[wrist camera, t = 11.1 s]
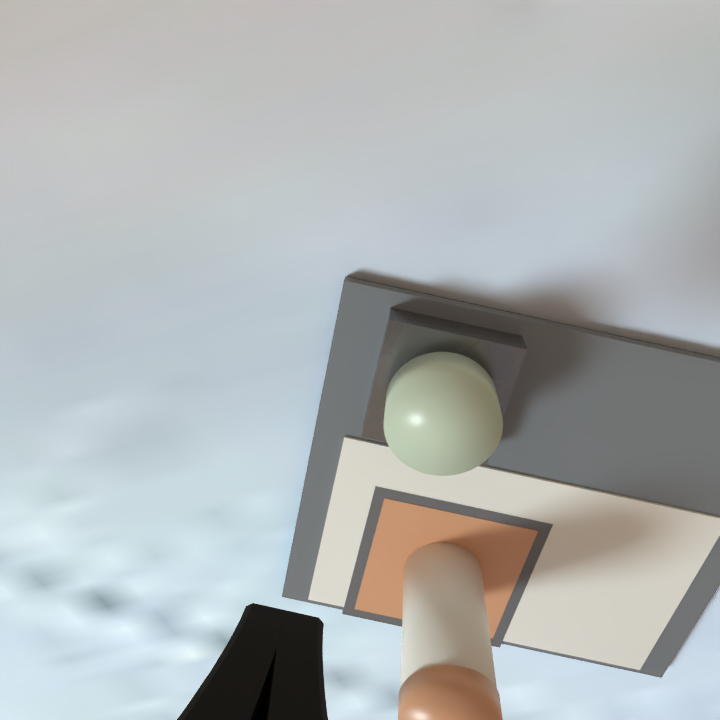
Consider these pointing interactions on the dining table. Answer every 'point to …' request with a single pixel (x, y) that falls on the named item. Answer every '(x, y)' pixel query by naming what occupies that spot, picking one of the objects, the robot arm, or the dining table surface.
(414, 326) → the button housing
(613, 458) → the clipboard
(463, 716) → the marker
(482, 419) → the button
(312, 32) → the dining table surface
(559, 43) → the dining table surface
